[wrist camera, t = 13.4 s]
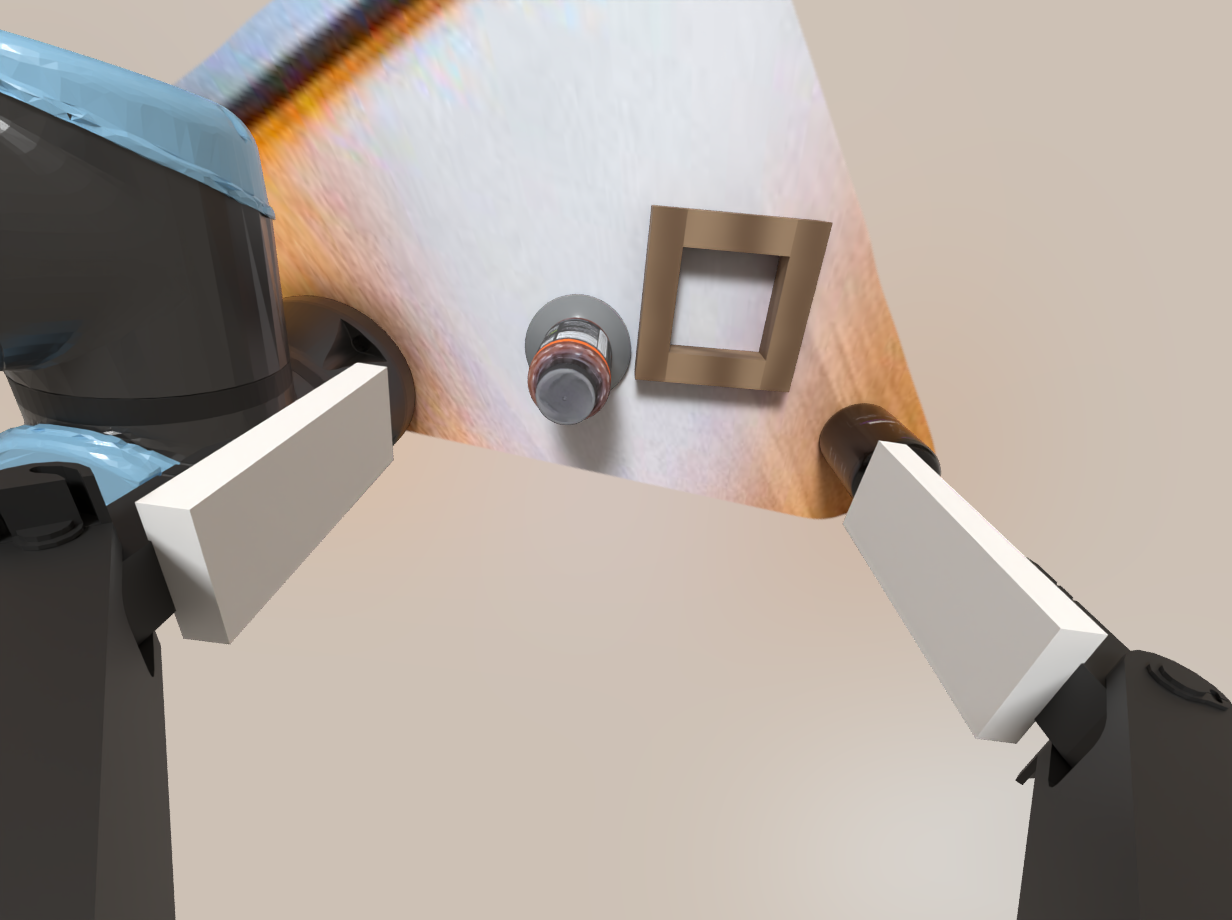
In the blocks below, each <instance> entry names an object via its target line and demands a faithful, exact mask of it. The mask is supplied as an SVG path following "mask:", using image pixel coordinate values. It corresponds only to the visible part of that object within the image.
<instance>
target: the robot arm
mask: <svg viewBox="0 0 1232 920" xmlns="http://www.w3.org/2000/svg"><path fill="white" fill-rule="evenodd" d="M272 220H275V213H274V211H273V209H272V208H271V207H270V206H269V203H268V198H267V193H266V188H265V183H264V177H263V172H262V167H261V162H260V156H259V151H258V148H257V144H256V142H255V140H254V138H253V136H252V134H251V133H250V131H249V130H248V128H247V127H246V126H245V124H244V123H243V122H242V121H241V120H240V119H239V118H238V117H237V116H235V115H234V114H233V113H232V112H230V111H229V110H228V109H226V108H225V107H223V106H221V105H219V104H217V103H215V102H213V101H211V100H209V99H207V98H204V97H202V96H199V95H196V94H194V93H191V92H189V91H186V90H184V89H181V88H178V87H176V86H173V85H170V84H167V83H164V82H162V81H159V80H156V79H153V78H150V77H147V76H145V75H142V74H139V73H136V72H133V71H130V70H127V69H124V68H121V67H118V66H115V65H112V64H109V63H106V62H103V61H100V60H97V59H94V58H90V57H88V56H84V55H81V54H78V53H75V52H72V51H69V50H65V49H62V48H59V47H56V46H53V45H50V44H46V43H43V42H40V41H37V40H34V39H30V38H27V37H23V36H20V35H17V34H13V33H10V32H6V31H3V30H0V371H4V373H5V375H6V377H7V379H8V382H9V384H10V386H11V389H12V391H13V394H14V396H15V399H16V401H17V404H18V406H19V409H20V411H21V413H22V416H23V418H24V425H22V426H19V427H16V428H10V429H8V430H6V431H4V432H2V433H0V920H175V904H174V903H175V902H174V884H173V865H172V846H171V830H170V829H171V828H170V809H169V792H168V773H167V755H166V735H165V717H164V699H163V680H162V662H161V661H162V660H161V645H160V642H159V640H158V637H157V635H156V632H155V630H156V629H157V628H158V627H159V626H160V625H161V624H162V623H164V622H165V621H166V620H167V619H168V618H169V617H170V616H171V615H172V614H173V613H175V616H176V619H177V622H178V624H179V627H180V630H181V633H182V636H183V638H184V639H191V640H199V641H207V642H216V643H223V644H231V642H232V641H233V640H234V639H235V638H236V637H237V636H238V635H239V633H240V632H241V631H242V630H243V629H244V628H245V627H246V626H247V624H248V623H249V622H250V621H251V620H252V619H253V618H254V617H255V615H256V614H257V613H258V612H259V611H260V610H261V609H262V608H263V606H264V605H265V604H266V603H267V602H268V601H269V600H270V598H271V597H272V596H273V595H274V594H275V593H276V592H277V591H278V590H279V588H280V587H281V586H282V585H283V584H284V583H285V582H286V580H287V579H288V578H289V577H290V576H291V575H292V574H293V573H294V571H295V570H296V569H297V568H298V567H299V566H300V565H301V563H302V562H303V561H304V560H305V559H306V558H307V557H308V556H309V555H310V553H311V552H312V551H313V550H314V549H315V548H316V547H317V546H318V544H319V543H320V542H321V541H322V540H323V539H324V538H325V537H326V535H327V534H328V533H329V532H330V531H331V530H332V529H333V528H334V526H335V525H336V524H337V523H338V522H339V521H340V520H341V518H342V517H343V516H344V515H345V514H346V513H347V512H348V511H349V510H350V508H351V507H352V506H353V505H354V504H355V503H356V502H357V501H358V499H359V498H360V497H361V496H362V495H363V494H364V493H365V492H366V490H367V489H368V488H369V487H370V486H371V485H372V484H373V482H374V481H375V480H376V479H377V478H378V477H379V476H380V475H381V473H382V472H383V471H384V470H385V469H386V468H387V467H388V466H389V464H390V463H391V462H392V461H393V445H394V444H395V443H396V442H397V441H398V440H399V439H400V438H401V436H402V435H403V434H404V433H405V431H406V429H407V428H408V426H409V424H410V421H411V419H412V416H413V412H414V405H415V390H414V384H413V379H412V376H411V372H410V370H409V367H408V365H407V363H406V360H405V358H404V357H403V355H402V353H401V352H400V350H399V348H398V347H397V346H396V344H395V343H394V341H393V340H392V339H391V338H390V337H389V336H388V334H387V333H386V332H385V331H384V330H383V329H382V328H381V327H380V326H378V325H377V324H376V323H375V322H374V321H372V320H371V319H370V318H368V317H367V316H366V315H364V314H362V313H361V312H359V311H357V310H356V309H354V308H352V307H350V306H348V305H346V304H343V303H341V302H338V301H335V300H332V299H328V298H323V297H318V296H292V297H287V298H283V299H282V291H281V284H280V276H279V268H278V260H277V253H276V245H275V237H274V229H273V222H272ZM843 525H844V526H845V529H846V530H847V532H848V533H849V535H850V536H851V538H852V540H853V541H854V543H855V545H856V546H857V548H858V550H859V551H860V553H861V554H862V556H863V558H864V559H865V561H866V562H867V564H868V566H869V567H870V569H871V570H872V572H873V574H874V575H875V577H876V579H877V580H878V582H879V583H880V585H881V587H882V588H883V590H884V591H885V593H886V595H887V596H888V598H889V600H890V601H891V603H892V604H893V606H894V607H895V609H896V611H897V612H898V614H899V616H900V617H901V619H902V620H903V622H904V624H905V625H906V627H907V629H908V630H909V632H910V633H911V635H912V636H913V638H914V640H915V642H916V643H917V645H918V646H919V648H920V650H921V651H922V653H923V654H924V656H925V658H926V659H927V661H928V663H929V664H930V666H931V667H932V669H933V671H934V672H935V674H936V675H937V677H938V678H939V680H940V682H941V683H942V685H943V687H944V688H945V690H946V692H947V693H948V695H949V696H950V698H951V700H952V701H953V703H954V704H955V706H956V708H957V709H958V711H959V712H960V714H961V716H962V717H963V719H964V720H965V722H966V724H967V725H968V727H969V729H970V730H971V732H972V733H973V735H974V737H975V738H977V739H984V740H992V741H1000V742H1008V743H1015V744H1016V743H1017V742H1018V741H1019V740H1020V739H1021V738H1022V736H1023V735H1024V734H1025V733H1026V732H1027V731H1028V729H1029V728H1030V727H1031V726H1032V725H1033V723H1034V722H1035V721H1036V722H1037V724H1038V725H1039V726H1040V727H1041V729H1042V730H1043V732H1044V733H1045V734H1046V736H1047V737H1048V738H1049V741H1048V742H1047V743H1046V744H1045V745H1044V747H1043V748H1042V749H1041V750H1040V751H1039V752H1038V753H1037V754H1036V755H1035V757H1034V758H1033V759H1032V760H1031V761H1030V762H1029V763H1028V764H1027V766H1026V767H1025V768H1024V769H1023V770H1022V771H1021V772H1020V774H1019V775H1018V777H1017V779H1016V781H1017V782H1018V783H1020V784H1022V785H1023V784H1024V783H1025V782H1026V781H1027V780H1028V778H1035V782H1034V789H1033V797H1032V805H1031V813H1030V820H1029V828H1028V836H1027V844H1026V852H1025V860H1024V867H1023V876H1022V883H1021V892H1020V899H1019V907H1018V914H1017V920H1232V704H1231V702H1230V701H1229V699H1227V698H1226V697H1225V695H1224V694H1223V693H1221V692H1220V691H1219V690H1218V689H1217V688H1216V687H1215V686H1213V685H1212V684H1210V683H1209V682H1208V681H1206V680H1205V679H1203V678H1202V677H1201V676H1199V675H1198V674H1196V673H1195V672H1193V671H1191V670H1189V669H1187V668H1186V667H1184V666H1182V665H1180V664H1178V663H1176V662H1175V661H1172V660H1170V659H1168V658H1165V657H1162V656H1160V655H1157V654H1155V653H1151V652H1146V651H1141V650H1134V651H1130V650H1129V649H1128V648H1127V647H1126V646H1125V645H1124V644H1123V643H1121V642H1120V641H1119V640H1118V639H1117V638H1116V637H1115V636H1114V635H1113V634H1112V633H1111V632H1110V631H1109V630H1107V629H1106V628H1105V627H1104V626H1103V625H1102V624H1101V623H1100V622H1099V621H1098V620H1097V619H1096V618H1095V617H1094V616H1093V615H1091V614H1090V613H1089V612H1088V611H1087V610H1086V609H1085V608H1084V607H1083V606H1082V605H1081V604H1080V603H1079V602H1077V601H1073V599H1072V598H1073V597H1072V596H1071V595H1070V594H1069V593H1068V592H1067V591H1066V590H1065V589H1063V588H1062V587H1061V586H1058V585H1057V582H1056V581H1055V580H1054V579H1053V578H1052V577H1051V576H1050V575H1049V574H1047V573H1046V572H1045V571H1044V570H1043V569H1042V568H1041V567H1040V566H1039V565H1038V564H1036V563H1035V562H1033V561H1032V560H1030V559H1029V558H1027V557H1025V556H1024V555H1023V554H1022V553H1021V552H1020V551H1018V550H1017V549H1016V548H1015V547H1014V546H1013V545H1012V544H1011V543H1010V542H1009V541H1008V540H1007V539H1006V538H1005V537H1004V536H1003V535H1001V533H1000V532H998V531H997V530H996V529H995V528H994V527H993V526H992V525H991V524H990V523H989V522H988V521H987V520H986V519H985V518H984V517H982V516H981V515H980V514H979V513H978V512H977V511H976V510H975V509H974V508H973V507H972V506H971V505H970V504H969V503H968V502H967V501H966V500H965V499H963V498H962V497H961V496H960V495H959V494H958V493H957V492H956V491H955V490H954V489H953V488H952V487H951V486H950V485H949V484H947V483H946V482H945V481H944V480H943V479H942V478H941V477H940V476H939V475H938V474H937V473H936V472H935V471H934V470H933V469H932V468H931V467H930V466H929V465H927V464H926V463H925V462H924V461H923V460H922V459H921V458H920V457H919V456H918V455H917V454H916V453H915V452H914V451H913V450H912V449H910V448H909V447H908V446H907V445H906V444H899V443H892V442H886V441H878V443H877V446H876V448H875V450H874V453H873V455H872V457H871V460H870V462H869V464H868V466H867V469H866V471H865V473H864V476H863V478H862V480H861V483H860V485H859V487H858V489H857V492H856V494H855V496H854V499H853V501H852V503H851V505H850V508H849V510H848V512H847V515H846V517H845V520H844V522H843Z"/></svg>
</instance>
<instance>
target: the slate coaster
mask: <svg viewBox="0 0 1232 920" xmlns="http://www.w3.org/2000/svg"><path fill="white" fill-rule="evenodd" d="M573 317H577V318H584V319H588V320H590V321H592V322H594V323H596V324H597V325H598V326H600V327H601V329H603V331H604V332H605V333H606V335H607V337H608V338H609V341H610V344H611V348H612V368H611V387H610V390H611V389H612V388H613V387H615V386H616V385H617V384H618V383H619V381H620V380H621V379H622V377H623V376H624V374H625V372H626V370H627V368H628V364H629V361H630V355H631V344H630V337H629V333H628V330H627V328H626V325H625V323H624V322H623V320H622V318H621V317H620V316H619V314H618V313H617V312H616V311H615V310H614V309H613V308H612V307H611V306H609V305H608V304H607V303H605V302H603V301H602V300H599V299H597V298H595V297H591V296H588V295H582V294H572V295H565V296H561V297H558V298H556V299H554V300H552V301H550V302H548V303H547V304H546V305H544V306H543V307H542V308H541V309H540V310H539V311H538V312H537V313H536V315H535V316H534V318H533V319H532V321H531V323H530V325H529V327H528V330H527V333H526V338H525V353H526V358H527V362H528V365H529V367H530V365H531V362H532V360H533V358H534V356H535V354H536V352H537V350H538V348H539V346H540V344H541V343H542V341H543V339H544V337H545V335H546V334H547V332H548V331H549V330H550V329H551V328H552V326H554V325H555V324H556V323H558V322H560V321H562V320H564V319H567V318H573Z"/></svg>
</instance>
